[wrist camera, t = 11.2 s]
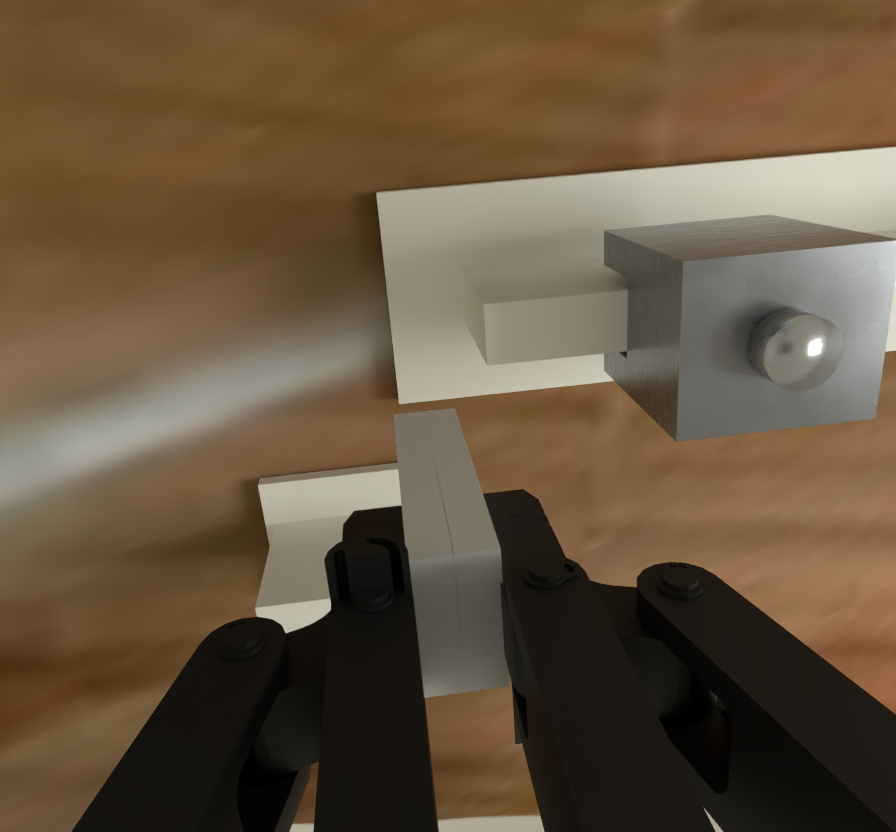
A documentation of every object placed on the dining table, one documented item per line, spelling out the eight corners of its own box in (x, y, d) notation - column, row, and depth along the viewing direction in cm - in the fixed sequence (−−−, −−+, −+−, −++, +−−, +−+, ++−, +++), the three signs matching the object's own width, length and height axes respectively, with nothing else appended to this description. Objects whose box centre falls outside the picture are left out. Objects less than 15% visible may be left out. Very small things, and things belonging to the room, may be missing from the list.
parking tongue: (259, 478, 37) (233, 562, 30) (452, 456, 38) (473, 533, 30) (282, 592, 40) (262, 696, 32) (462, 570, 40) (483, 667, 33)
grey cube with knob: (603, 230, 29) (699, 267, 21) (769, 214, 30) (929, 245, 21) (603, 370, 32) (690, 456, 23) (757, 353, 32) (899, 431, 24)
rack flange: (376, 191, 33) (379, 213, 24) (1133, 125, 35) (1406, 120, 26) (398, 398, 36) (409, 487, 27) (1083, 324, 39) (1308, 383, 30)
